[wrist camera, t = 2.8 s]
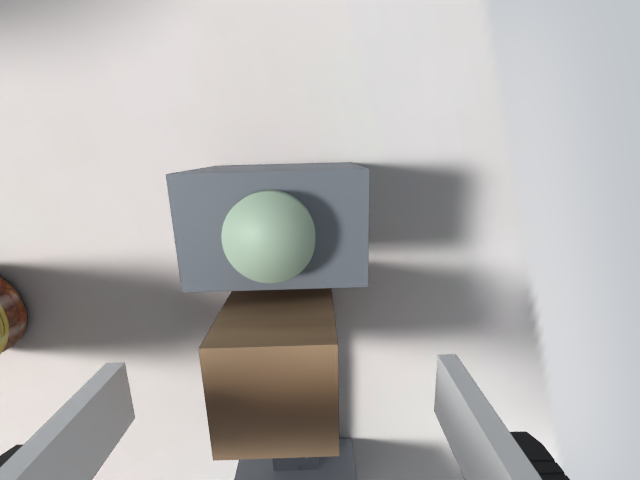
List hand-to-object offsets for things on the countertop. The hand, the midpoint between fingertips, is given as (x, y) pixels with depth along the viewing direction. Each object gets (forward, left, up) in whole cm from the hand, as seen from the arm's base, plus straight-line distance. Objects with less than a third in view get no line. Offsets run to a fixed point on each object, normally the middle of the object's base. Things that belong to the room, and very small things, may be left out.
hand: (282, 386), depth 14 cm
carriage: (0, 0, -8) cm, 8 cm away
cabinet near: (-6, 0, -8) cm, 10 cm away
